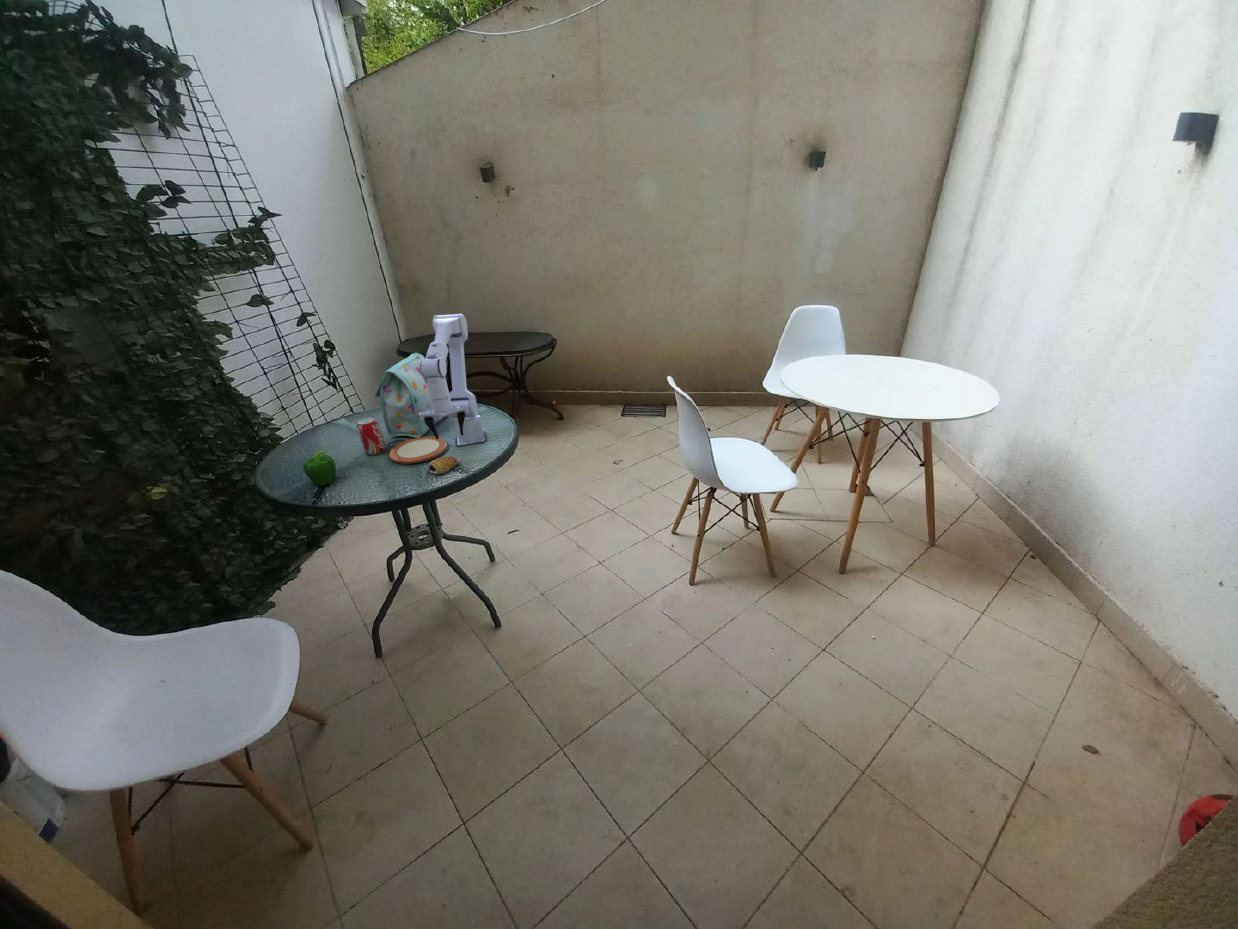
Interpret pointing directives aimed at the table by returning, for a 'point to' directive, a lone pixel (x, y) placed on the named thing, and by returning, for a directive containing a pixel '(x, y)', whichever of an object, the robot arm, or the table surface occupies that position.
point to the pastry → (442, 465)
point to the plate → (418, 450)
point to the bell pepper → (320, 469)
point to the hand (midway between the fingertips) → (449, 436)
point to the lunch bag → (405, 398)
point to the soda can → (370, 435)
